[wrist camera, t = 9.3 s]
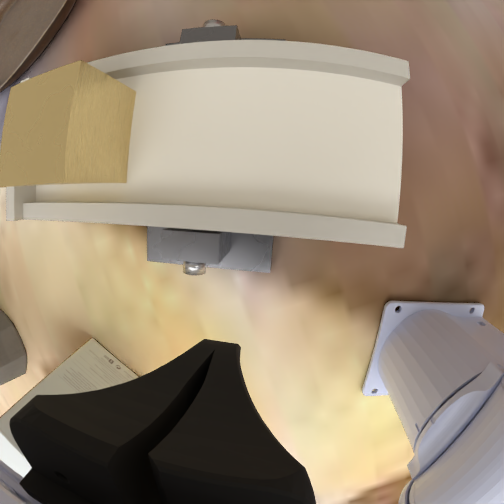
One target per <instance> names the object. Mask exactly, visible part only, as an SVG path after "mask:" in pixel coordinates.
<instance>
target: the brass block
mask: <svg viewBox="0 0 504 504" xmlns="http://www.w3.org/2000/svg"><path fill="white" fill-rule="evenodd" d="M135 97H136V91H134V90H133V89H131V88H129V87H128V86H126V85H124V84H123V83H121V82H119V81H118V80H116V79H114V78H112V77H111V76H109V75H107V74H105V73H104V72H102V71H100V70H98V69H97V68H95V67H93V66H91V65H89V64H88V63H86V62H84V61H82V60H80V61H77V62H74V63H71V64H68V65H65V66H62V67H59V68H56V69H54V70H51V71H48V72H46V73H43V74H41V75H38V76H36V77H33V78H31V79H29V80H26V81H24V82H22V83H20V84H17V85H15V86H13V87H11V90H10V94H9V99H8V104H7V109H6V114H5V120H4V126H3V133H2V141H1V150H0V187H13V186H32V185H59V184H89V183H127V169H128V156H129V145H130V135H131V126H132V118H133V111H134V104H135Z"/></svg>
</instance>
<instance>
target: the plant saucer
mask: <svg viewBox="0 0 504 504" xmlns="http://www.w3.org/2000/svg"><path fill="white" fill-rule="evenodd" d="M75 1H76V0H0V92H2V91H3V90H4V89H6V88H7V87H8V86H10V85H11V84H12V83H13V82H14V81H15V80H16V79H18V78H19V77H20V76H21V75H22V74H23V73H24V72H25V71H26V70H27V69H28V68H29V67H30V66H31V65H32V64H33V62H34V61H35V60H36V59H37V58H38V57H39V55H40V54H41V53H42V52H43V50H44V49H45V48H46V47H47V45H48V44H49V43H50V41H51V40H52V39H53V37H54V36H55V34H56V33H57V32H58V30H59V29H60V27H61V26H62V24H63V23H64V21H65V19H66V18H67V16H68V14H69V13H70V11H71V9H72V7H73V5H74V3H75Z"/></svg>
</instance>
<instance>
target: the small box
mask: <svg viewBox="0 0 504 504" xmlns="http://www.w3.org/2000/svg"><path fill="white" fill-rule="evenodd" d="M138 377H139V376H137V375H136V374H135V373H133V372H132V371H131V370H130V369H129V368H127V367H126V366H125V365H124V364H122V363H121V362H120V361H119V360H118V359H116V358H115V357H114V356H113V355H112V354H111V353H109V352H108V351H107V350H106V349H105V348H104V347H102V346H101V345H100V344H99V343H98V342H97V341H96V340H95V339H93V338H91V339H90V340H89V341H87V342H86V343H85V344H84V345H82V346H81V347H80V348H79V349H78V350H76V351H75V352H74V353H73V354H72V355H71V356H70V357H68V358H67V359H66V360H65V361H64V362H62V363H61V364H60V365H59V366H58V367H57V368H55V369H54V370H53V371H52V372H51V373H49V374H48V375H47V376H46V377H45V378H44V379H42V380H41V381H40V382H39V383H38V384H37V385H36V386H35V387H33V388H32V389H31V390H30V391H29V392H28V393H27V394H25V395H24V396H23V397H22V398H21V399H20V400H19V401H18V402H17V403H15V404H14V405H13V406H12V407H11V408H10V409H9V410H8V411H7V412H5V413H4V414H3V415H2V416H1V417H0V460H1V461H3V462H4V463H5V464H6V465H8V466H9V467H10V468H11V469H13V470H14V471H15V472H17V473H18V474H19V475H21V476H22V477H25V475H26V474H27V473H28V472H29V471H30V470H31V468H32V467H31V466H30V464H29V463H28V461H27V460H26V458H25V456H24V455H23V453H22V452H21V450H20V448H19V447H18V445H17V443H16V442H15V440H14V438H13V436H12V434H11V430H10V425H9V422H10V419H11V418H12V417H13V416H14V415H15V414H16V413H17V412H18V411H19V410H20V409H21V408H23V407H24V406H25V405H26V404H27V403H28V402H29V401H30V400H31V399H32V398H34V397H35V396H36V395H58V394H74V393H82V392H89V391H94V390H99V389H104V388H107V387H111V386H114V385H118V384H122V383H125V382H128V381H131V380H133V379H136V378H138Z"/></svg>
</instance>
